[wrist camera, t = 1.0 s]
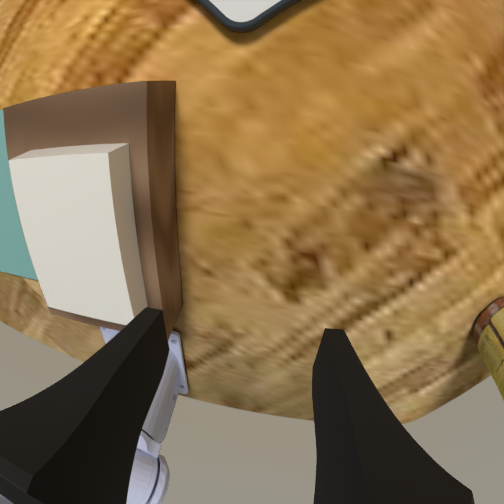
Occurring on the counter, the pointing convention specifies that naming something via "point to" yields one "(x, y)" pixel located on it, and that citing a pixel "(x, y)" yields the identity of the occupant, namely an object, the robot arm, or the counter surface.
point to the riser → (141, 168)
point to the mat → (11, 221)
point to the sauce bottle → (492, 340)
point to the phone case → (245, 12)
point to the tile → (81, 228)
